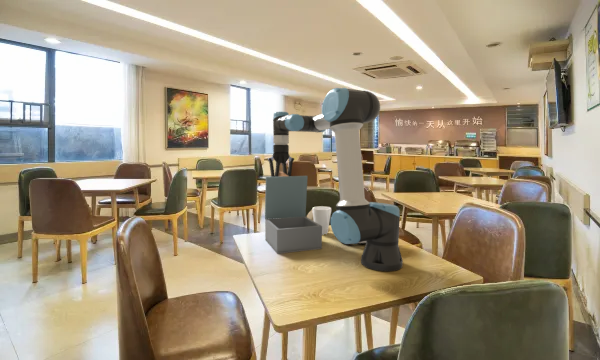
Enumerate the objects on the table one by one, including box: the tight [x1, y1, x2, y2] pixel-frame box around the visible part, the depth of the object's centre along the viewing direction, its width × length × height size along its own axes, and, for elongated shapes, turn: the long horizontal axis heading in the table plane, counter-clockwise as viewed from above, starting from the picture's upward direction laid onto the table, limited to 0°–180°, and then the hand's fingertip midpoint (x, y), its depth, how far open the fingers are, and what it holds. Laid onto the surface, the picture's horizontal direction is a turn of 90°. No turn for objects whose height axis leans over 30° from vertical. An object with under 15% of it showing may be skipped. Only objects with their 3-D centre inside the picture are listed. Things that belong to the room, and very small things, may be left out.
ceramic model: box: [306, 209, 314, 221], centre depth 177 cm, size 14×11×10 cm
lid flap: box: [264, 171, 308, 219], centre depth 157 cm, size 20×20×12 cm
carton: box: [264, 215, 323, 254], centre depth 145 cm, size 20×20×10 cm
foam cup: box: [311, 205, 332, 236], centre depth 163 cm, size 10×9×13 cm
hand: (281, 191), depth 160 cm, fingers closed on lid flap, 2 cm apart
